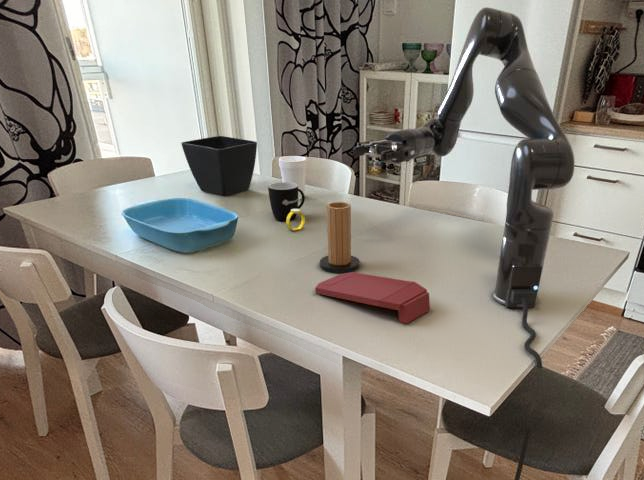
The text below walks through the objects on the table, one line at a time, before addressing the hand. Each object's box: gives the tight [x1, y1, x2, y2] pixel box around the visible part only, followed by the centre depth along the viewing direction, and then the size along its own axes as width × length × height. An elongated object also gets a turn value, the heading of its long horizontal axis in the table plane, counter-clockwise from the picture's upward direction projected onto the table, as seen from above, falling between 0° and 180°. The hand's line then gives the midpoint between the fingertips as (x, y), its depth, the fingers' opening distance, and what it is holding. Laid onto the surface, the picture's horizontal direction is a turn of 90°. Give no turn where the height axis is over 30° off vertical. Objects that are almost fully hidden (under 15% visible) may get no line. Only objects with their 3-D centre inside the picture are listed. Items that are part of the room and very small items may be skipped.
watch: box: [285, 208, 306, 232], centre depth 152 cm, size 6×3×6 cm, turn 134°
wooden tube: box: [326, 201, 352, 265], centre depth 126 cm, size 6×6×14 cm
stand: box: [319, 255, 361, 274], centre depth 127 cm, size 10×10×12 cm
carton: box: [314, 271, 431, 324], centre depth 114 cm, size 12×5×25 cm
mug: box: [267, 181, 305, 223], centre depth 161 cm, size 12×9×10 cm
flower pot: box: [180, 135, 258, 197], centre depth 186 cm, size 19×19×17 cm
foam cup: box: [278, 155, 308, 200], centre depth 180 cm, size 10×9×13 cm
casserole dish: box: [121, 197, 239, 254], centre depth 145 cm, size 37×22×7 cm, turn 49°
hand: (367, 154), depth 125 cm, fingers open, 8 cm apart
